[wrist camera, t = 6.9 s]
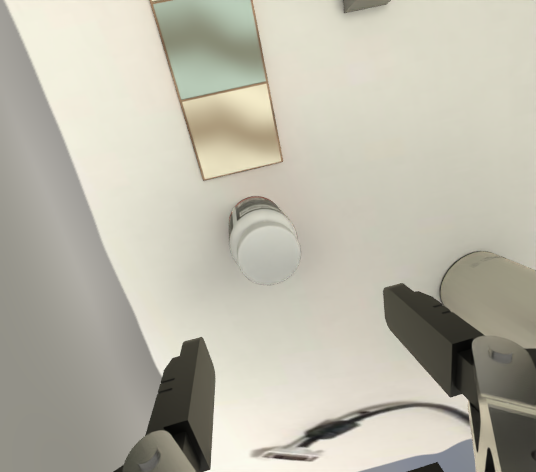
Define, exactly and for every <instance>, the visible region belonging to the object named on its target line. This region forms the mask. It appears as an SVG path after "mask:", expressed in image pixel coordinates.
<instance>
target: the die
mask: <svg viewBox="0 0 536 472" xmlns="http://www.w3.org/2000/svg"><path fill="white" fill-rule="evenodd" d="M390 1H391V0H343V5H344V13H348V12H353V11H357V10H362V9H367V8H371V7H376V6H381V5H385V4H387V3H388V2H390Z"/></svg>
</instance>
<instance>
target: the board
mask: <svg viewBox="0 0 536 472" xmlns="http://www.w3.org/2000/svg"><path fill="white" fill-rule="evenodd" d="M149 1H150V4H151V7H152V11H153V14H154V17H155V21H156V24H157V27H158V31H159V34H160V37H161V41H162V44H163V47H164V51H165V54H166V57H167V61H168V64H169V67H170V71H171V74H172V77H173V81H174V84H175V87H176V91H177V94H178V98H179V101H180V104H181V108H182V111H183V114H184V118H185V121H186V124H187V128H188V131H189V134H190V138H191V141H192V144H193V148H194V151H195V154H196V158H197V161H198V164H199V168H200V171H201V174H202V178H203V181H204V180H208V179H213V178H217V177H221V176H225V175H229V174H234V173H238V172H242V171H246V170H250V169H255V168H259V167H263V166H267V165H271V164H276V163H280V162H283V158H282V153H281V147H280V142H279V137H278V132H277V126H276V121H275V116H274V111H273V105H272V100H271V95H270V90H269V84H268V79H267V74H266V69H265V63H264V58H263V53H262V48H261V42H260V37H259V32H258V27H257V21H256V16H255V11H254V6H253V0H149Z"/></svg>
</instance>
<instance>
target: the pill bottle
mask: <svg viewBox="0 0 536 472" xmlns="http://www.w3.org/2000/svg"><path fill="white" fill-rule="evenodd" d="M229 245H230V251H231V254H232V256H233V258H234V260H235V262H236V263H237V264H238V265H239V267H240V270H241V271H242V273H243V274H244V275H245V276H246V277H247V278H248V279H249V280H251V281H253V282H255V283H257V284H261V285H274V284H278V283H280V282H283V281H285V280H286V279H288V278H289V277H290V276H291V275H292V274H293V273H294V272H295V270H296V269H297V267H298V265H299V262H300V258H301V249H300V245H299V242H298V240H297V233H296V230H295V228H294V226H293V224H292V223H291V221H290V220H289V219H288V218H287V217H286V215H285V214H284V213H283V212H282V211H281V210H280V209H279V208H278V206H277V205H276V204H275V203H273V202H272V201H271V200H269V199H267V198H264V197H259V196H254V197H249V198H246V199H244V200H242V201H240V202H239V203H238V204H237V205H236V206H235V207H234V209H233V210H232V212H231V215H230V218H229Z"/></svg>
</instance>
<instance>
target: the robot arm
mask: <svg viewBox="0 0 536 472" xmlns="http://www.w3.org/2000/svg"><path fill="white" fill-rule="evenodd" d="M383 295H384V310H385V319H386V322H387V325H388V327H389V329H390V330H391V331H392V333H393V334H394V335H395V336H396V337H397V338H398V339H399V340H400V342H401V343H402V344H403V345H404V346H405V347H406V348H407V349H408V351H409V352H410V353H411V354H412V355H413V356H414V357H415V358H416V360H417V361H418V362H419V363H420V364H421V365H422V366H423V367H424V369H425V370H426V371H427V372H428V373H429V374H430V375H431V376H432V378H433V379H434V380H435V381H436V382H437V383H438V384H439V385H440V386H441V388H442V389H443V390H444V391H445V392H446V393H447V394H448V395H449V397H453V396H457V395H460V394H463V395H464V396H465V397H466V398H467V399H468V412H469V420H470V427H471V434H472V441H473V449H474V456H475V465H476V472H536V270H534V269H531V268H529V267H526V266H524V265H521V264H519V263H516V262H514V261H511V260H509V259H506V258H504V257H502V256H499V255H496V254H493V253H490V252H484V251H480V252H474V253H472V254H469V255H467V256H465V257H463V258H462V259H460V260H459V261H458V262H456V263H455V264H454V265H453V266H452V267H451V268H450V270H449V271H448V272H447V274H446V275H445V277H444V280H443V282H442V285H441V300H442V302H443V304H444V306H442V304H441V303H440V302H438V301H437V300H436V299H434V298H433V297H432V296H429V295H426V294H424V293H421V292H419V291H417V292H414V291H412V290H411V289H410V288H408V287H407V286H406V285H404V284H402V283H400V284H397V285H393V286H389V287H386V288H384V290H383ZM214 395H215V371H214V366H213V363H212V360H211V358H210V355H209V352H208V350H207V347H206V344H205V341H204V339H203V338H202V337H200V338H196V339H192V340H188V341H185V342H183V345H182V349H181V353H180V356H179V357H175V358H172V360H171V361H170V363H169V364H168V365H167V367H166V368H165V370H164V373H163V377H162V380H161V384H160V387H159V390H158V395H157V398H156V401H155V405H154V408H153V411H152V415H151V418H150V421H149V425H148V429H147V432H146V435H145V437H143V438H142V439H141V440H140V441H139V442H138V443H137V444H136V445H135V446H134V447H133V448H132V450H131V451H130V453H129V454H128V456H127V458H126V460H125V463H124V465H123V466H121V467H120V468H118V469H117V470H115V471H114V472H204V471H207V470H210V465H211V448H212V430H213V412H214ZM408 472H444V471H443V470H442V468H441V467H440V465H439V464H438V462H436V463H433V464H430V465H427V466H424V467H420V468H418V469H414V470H411V471H408Z"/></svg>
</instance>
